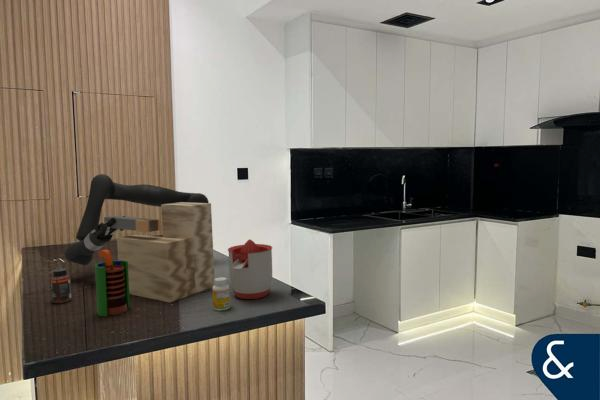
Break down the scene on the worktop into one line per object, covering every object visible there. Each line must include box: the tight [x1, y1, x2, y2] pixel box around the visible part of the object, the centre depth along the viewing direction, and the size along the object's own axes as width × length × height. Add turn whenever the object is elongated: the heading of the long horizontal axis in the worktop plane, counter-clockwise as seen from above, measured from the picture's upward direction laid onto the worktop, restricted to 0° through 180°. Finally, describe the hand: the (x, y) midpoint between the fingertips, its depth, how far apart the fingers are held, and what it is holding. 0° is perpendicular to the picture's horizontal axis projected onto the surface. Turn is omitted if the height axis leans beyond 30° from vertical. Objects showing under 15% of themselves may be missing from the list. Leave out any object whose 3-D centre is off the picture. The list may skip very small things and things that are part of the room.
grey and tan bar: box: [103, 215, 162, 233], centre depth 166 cm, size 6×26×4 cm, turn 57°
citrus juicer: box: [227, 239, 273, 300], centre depth 156 cm, size 16×17×20 cm
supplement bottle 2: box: [211, 276, 231, 312], centre depth 144 cm, size 5×5×10 cm
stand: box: [116, 202, 215, 303], centre depth 167 cm, size 22×27×32 cm
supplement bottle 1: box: [50, 268, 72, 304], centre depth 157 cm, size 6×6×11 cm
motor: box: [94, 249, 131, 318], centre depth 144 cm, size 10×9×20 cm
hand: (119, 218), depth 169 cm, fingers closed on grey and tan bar, 4 cm apart
